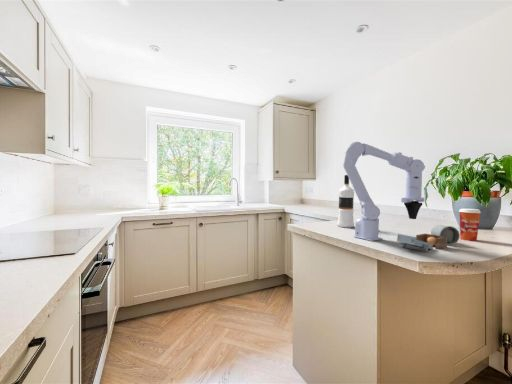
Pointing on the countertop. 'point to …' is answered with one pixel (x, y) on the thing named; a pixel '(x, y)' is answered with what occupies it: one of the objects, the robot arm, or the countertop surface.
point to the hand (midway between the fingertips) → (412, 218)
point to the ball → (431, 240)
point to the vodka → (346, 205)
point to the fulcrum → (416, 247)
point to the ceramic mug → (446, 233)
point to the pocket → (439, 240)
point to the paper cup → (469, 224)
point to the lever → (413, 241)
